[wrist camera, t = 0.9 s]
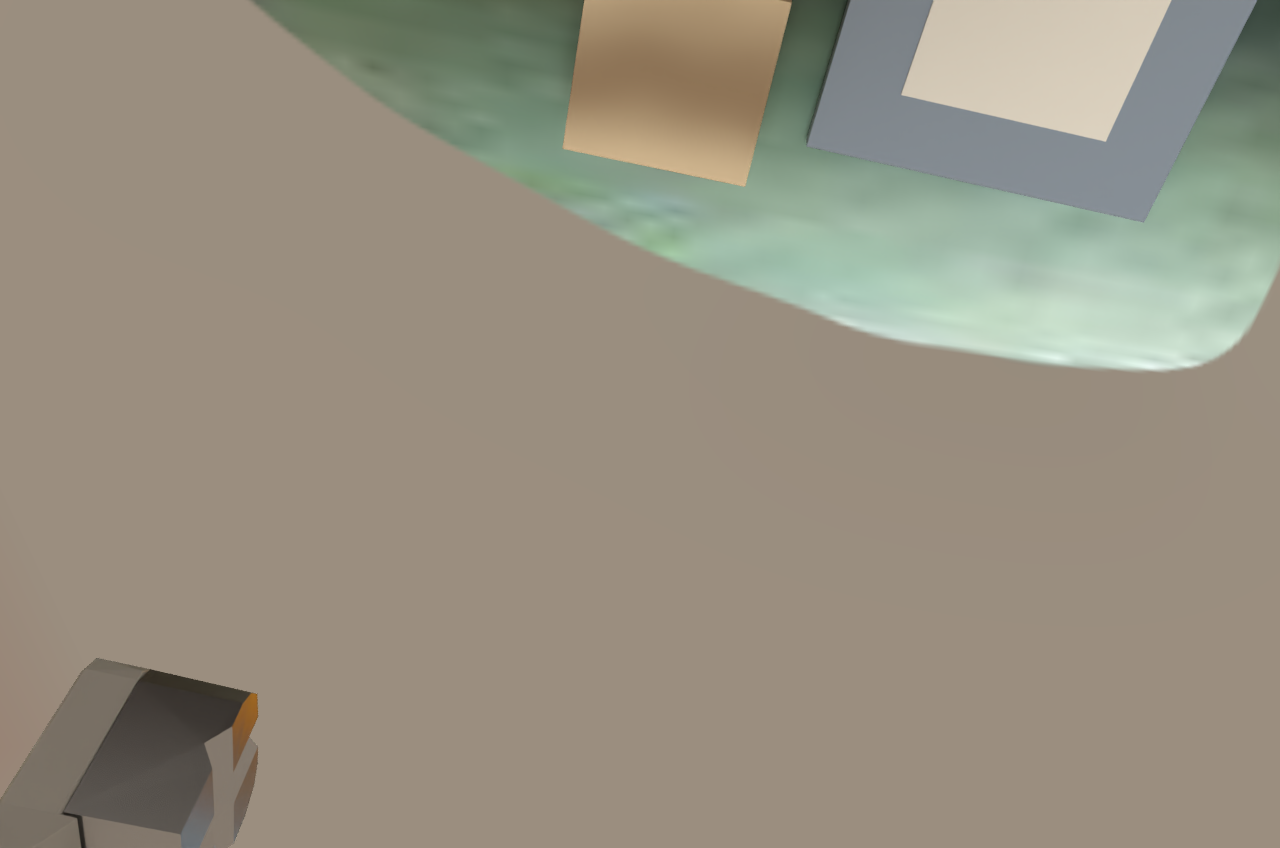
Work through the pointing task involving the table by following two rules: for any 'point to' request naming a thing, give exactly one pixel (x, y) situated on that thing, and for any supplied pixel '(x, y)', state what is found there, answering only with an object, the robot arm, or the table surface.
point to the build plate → (1027, 91)
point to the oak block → (675, 82)
